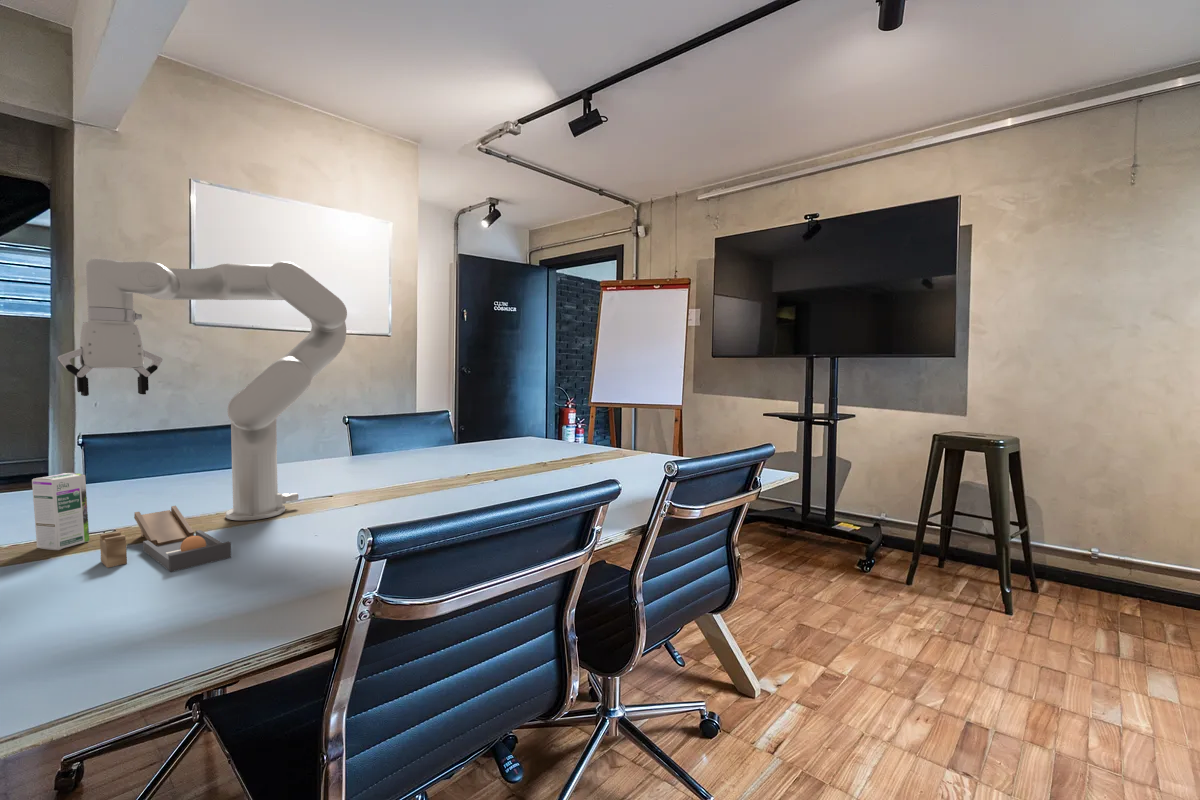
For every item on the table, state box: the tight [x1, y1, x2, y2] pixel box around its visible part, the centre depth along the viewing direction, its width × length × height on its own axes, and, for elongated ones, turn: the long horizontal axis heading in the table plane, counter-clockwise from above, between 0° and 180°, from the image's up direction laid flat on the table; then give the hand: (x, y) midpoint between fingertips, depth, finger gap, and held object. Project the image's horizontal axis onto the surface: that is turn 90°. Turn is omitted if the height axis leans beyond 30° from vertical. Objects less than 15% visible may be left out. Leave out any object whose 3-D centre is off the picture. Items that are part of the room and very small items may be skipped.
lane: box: [142, 529, 232, 573], centre depth 107 cm, size 10×17×3 cm, turn 53°
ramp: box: [133, 505, 195, 546], centre depth 116 cm, size 7×12×6 cm, turn 53°
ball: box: [180, 535, 206, 552], centre depth 105 cm, size 4×4×4 cm
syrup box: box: [31, 472, 90, 551], centre depth 111 cm, size 6×6×14 cm
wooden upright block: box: [99, 531, 128, 569], centre depth 102 cm, size 3×5×5 cm, turn 53°
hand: (114, 394), depth 120 cm, fingers open, 9 cm apart
